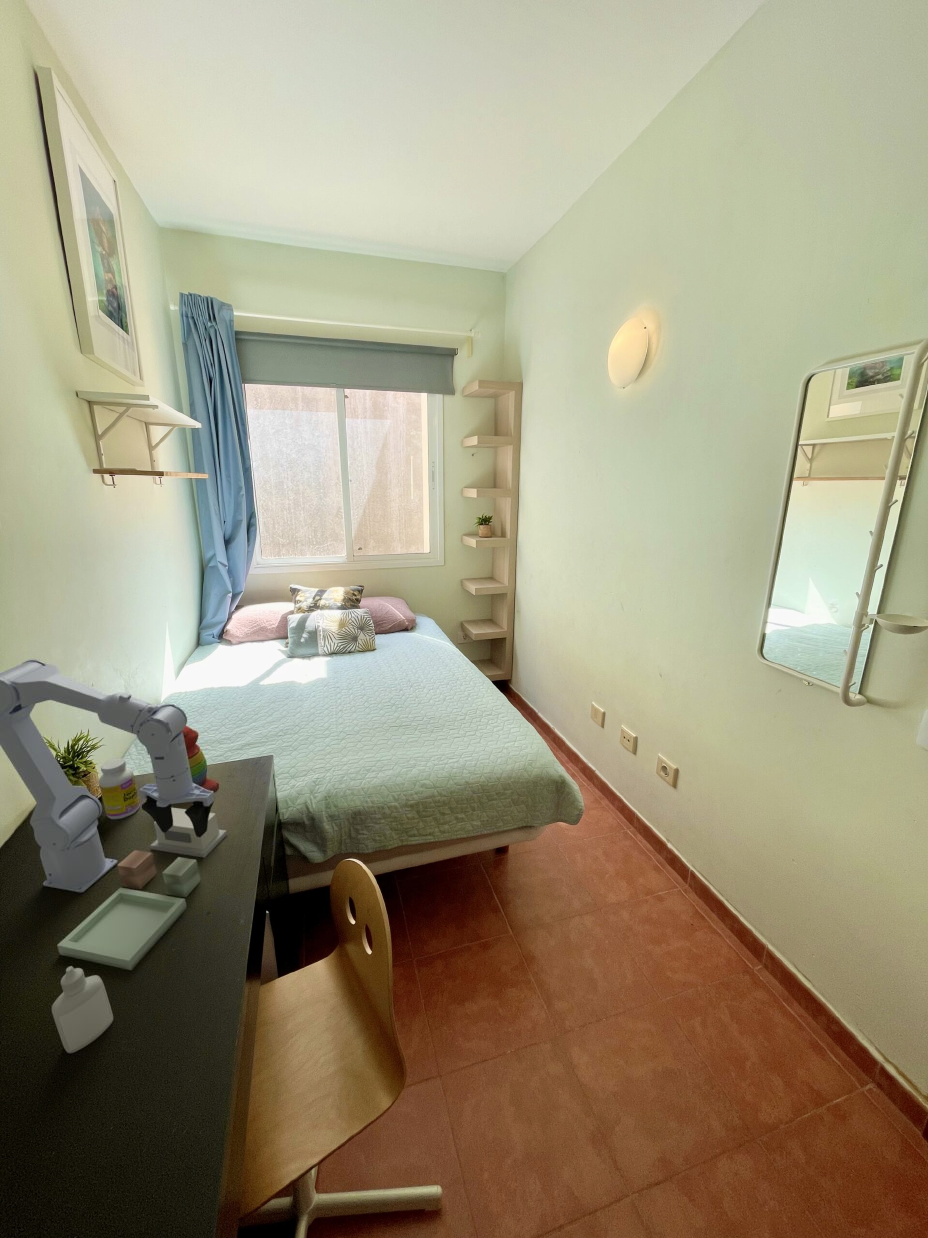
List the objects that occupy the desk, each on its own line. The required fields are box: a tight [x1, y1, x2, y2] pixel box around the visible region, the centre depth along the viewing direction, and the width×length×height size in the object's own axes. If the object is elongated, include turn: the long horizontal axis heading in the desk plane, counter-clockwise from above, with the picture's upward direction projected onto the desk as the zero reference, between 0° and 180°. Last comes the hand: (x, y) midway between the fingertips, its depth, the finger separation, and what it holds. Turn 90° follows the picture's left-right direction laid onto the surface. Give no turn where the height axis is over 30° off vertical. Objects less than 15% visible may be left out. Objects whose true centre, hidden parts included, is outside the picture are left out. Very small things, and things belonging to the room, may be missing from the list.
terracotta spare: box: [116, 849, 158, 890], centre depth 95 cm, size 4×4×5 cm
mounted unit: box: [150, 807, 228, 858], centre depth 105 cm, size 13×7×6 cm, turn 78°
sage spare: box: [162, 856, 201, 899], centre depth 93 cm, size 4×4×5 cm
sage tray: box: [57, 887, 187, 971], centre depth 85 cm, size 14×12×2 cm
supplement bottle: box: [98, 757, 141, 820], centre depth 114 cm, size 7×7×13 cm
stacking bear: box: [181, 725, 220, 792], centre depth 121 cm, size 11×10×18 cm
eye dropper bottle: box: [51, 965, 114, 1054], centre depth 68 cm, size 4×6×12 cm
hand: (184, 831), depth 95 cm, fingers open, 7 cm apart
